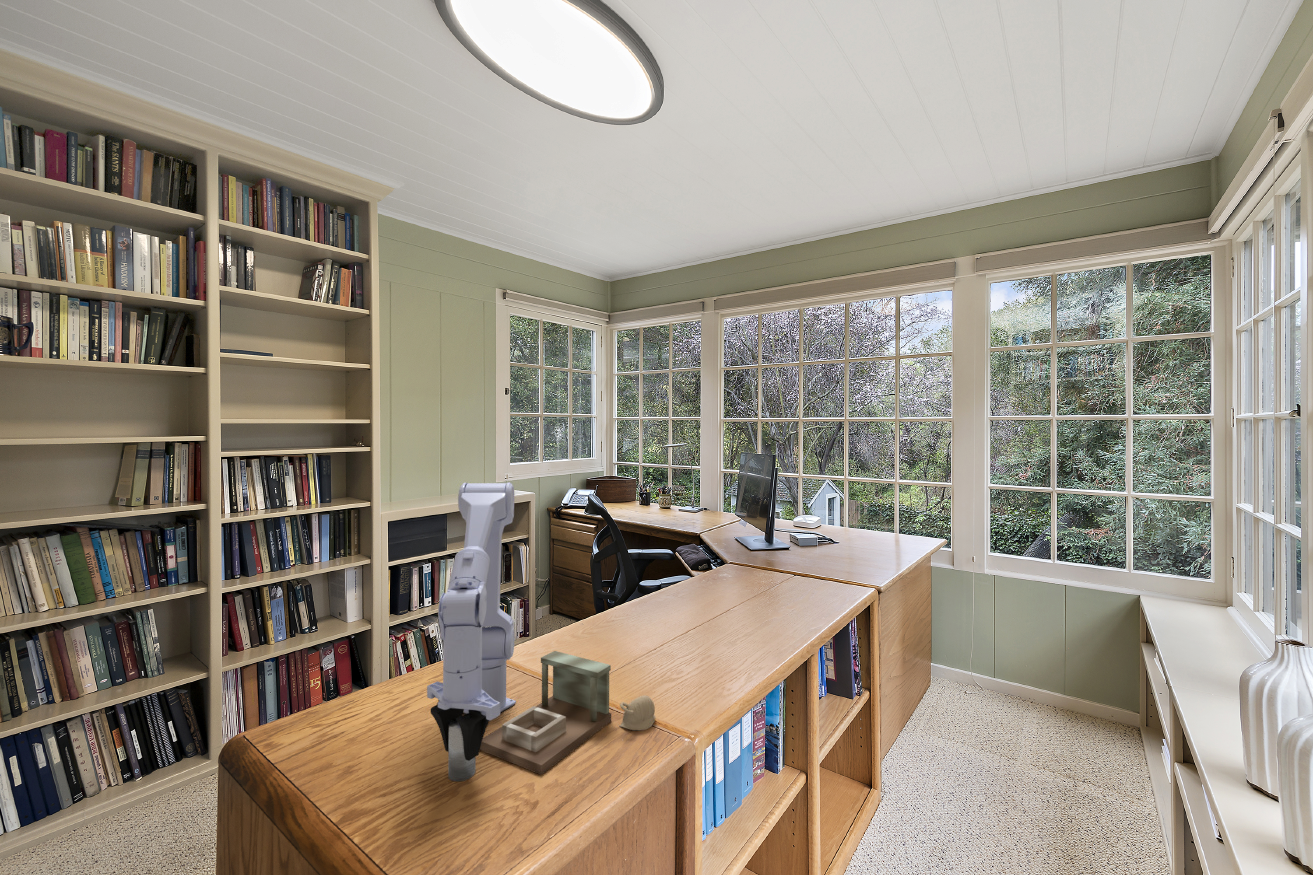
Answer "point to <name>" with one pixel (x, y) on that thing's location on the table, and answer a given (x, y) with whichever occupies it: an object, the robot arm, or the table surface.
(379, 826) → the table surface
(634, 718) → the decorative ornament
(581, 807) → the table surface
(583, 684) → the socket stand
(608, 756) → the table surface
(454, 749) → the steel peg
